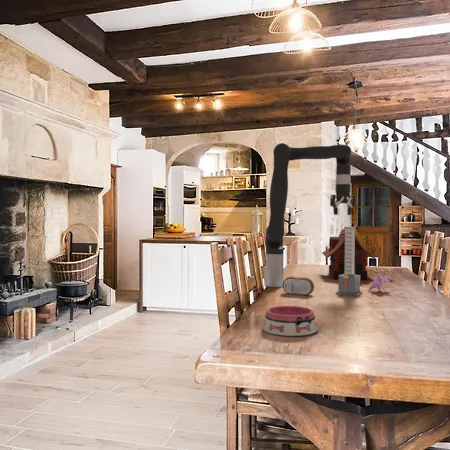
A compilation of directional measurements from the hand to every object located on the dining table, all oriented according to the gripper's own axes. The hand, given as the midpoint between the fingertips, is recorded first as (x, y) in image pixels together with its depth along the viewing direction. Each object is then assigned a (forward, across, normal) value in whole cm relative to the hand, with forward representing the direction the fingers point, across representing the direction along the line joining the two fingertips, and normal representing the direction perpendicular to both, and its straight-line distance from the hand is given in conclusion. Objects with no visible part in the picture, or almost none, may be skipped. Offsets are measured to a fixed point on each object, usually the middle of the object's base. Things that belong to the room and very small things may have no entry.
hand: (342, 214), depth 239 cm
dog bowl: (+39, -71, -64) cm, 103 cm away
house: (+38, +30, +33) cm, 59 cm away
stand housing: (+38, -8, -16) cm, 42 cm away
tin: (+38, -32, -8) cm, 51 cm away
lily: (+38, +10, -17) cm, 43 cm away
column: (+31, -8, -16) cm, 36 cm away
